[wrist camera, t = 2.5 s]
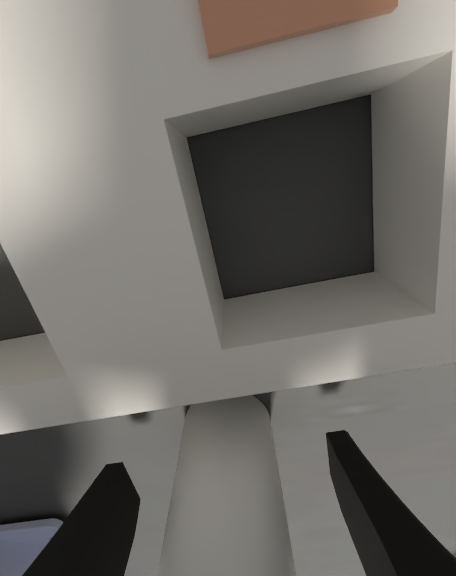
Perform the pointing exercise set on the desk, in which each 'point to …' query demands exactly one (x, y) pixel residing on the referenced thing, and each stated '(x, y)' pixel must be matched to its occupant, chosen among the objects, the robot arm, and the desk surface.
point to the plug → (227, 496)
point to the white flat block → (188, 207)
